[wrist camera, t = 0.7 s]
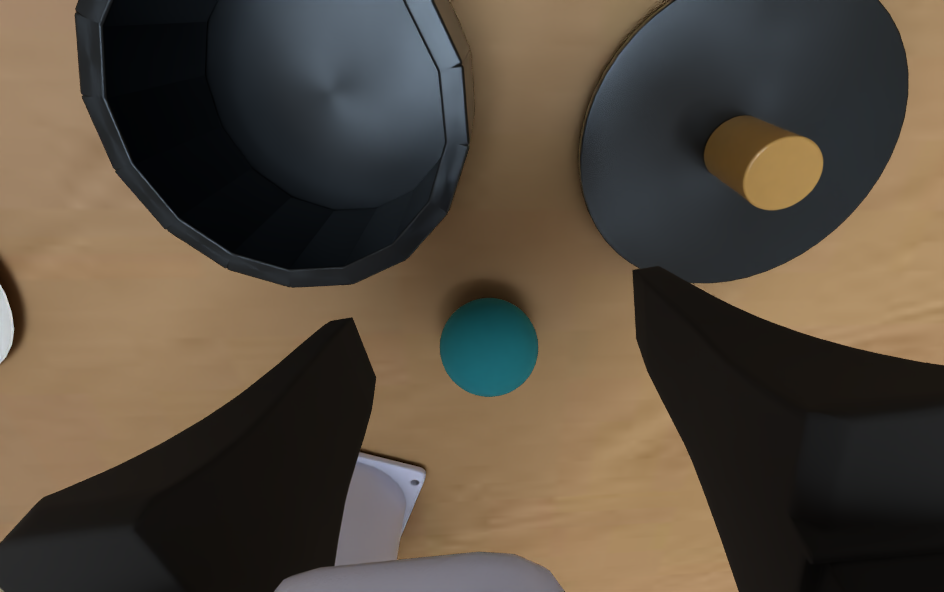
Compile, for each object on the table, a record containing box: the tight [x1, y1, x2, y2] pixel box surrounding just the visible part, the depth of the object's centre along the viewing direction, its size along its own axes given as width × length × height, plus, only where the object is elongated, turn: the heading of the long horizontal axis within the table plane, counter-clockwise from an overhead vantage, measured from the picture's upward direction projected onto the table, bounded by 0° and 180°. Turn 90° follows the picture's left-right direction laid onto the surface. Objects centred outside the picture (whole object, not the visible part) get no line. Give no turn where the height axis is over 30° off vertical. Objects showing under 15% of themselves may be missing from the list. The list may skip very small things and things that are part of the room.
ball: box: [440, 298, 538, 397], centre depth 22 cm, size 4×4×4 cm
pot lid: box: [578, 0, 908, 283], centre depth 17 cm, size 12×12×4 cm
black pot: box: [75, 0, 475, 288], centre depth 16 cm, size 11×11×6 cm
